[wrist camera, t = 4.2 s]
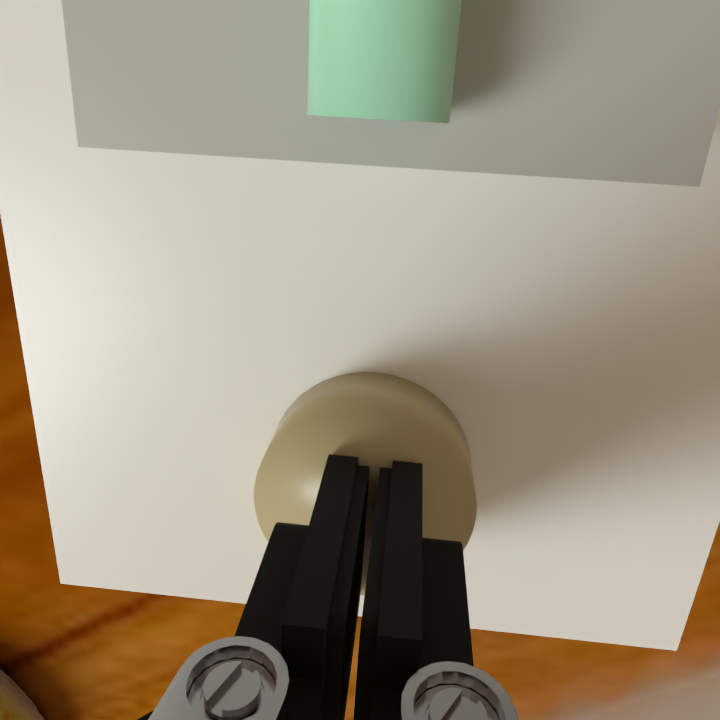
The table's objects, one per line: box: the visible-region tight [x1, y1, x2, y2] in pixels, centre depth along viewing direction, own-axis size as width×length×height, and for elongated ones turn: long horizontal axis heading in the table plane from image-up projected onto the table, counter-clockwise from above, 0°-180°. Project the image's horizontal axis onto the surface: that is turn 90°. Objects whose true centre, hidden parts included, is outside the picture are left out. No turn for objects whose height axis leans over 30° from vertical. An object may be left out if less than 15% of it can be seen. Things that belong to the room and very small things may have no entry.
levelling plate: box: [0, 0, 720, 651], centre depth 8 cm, size 20×14×6 cm
